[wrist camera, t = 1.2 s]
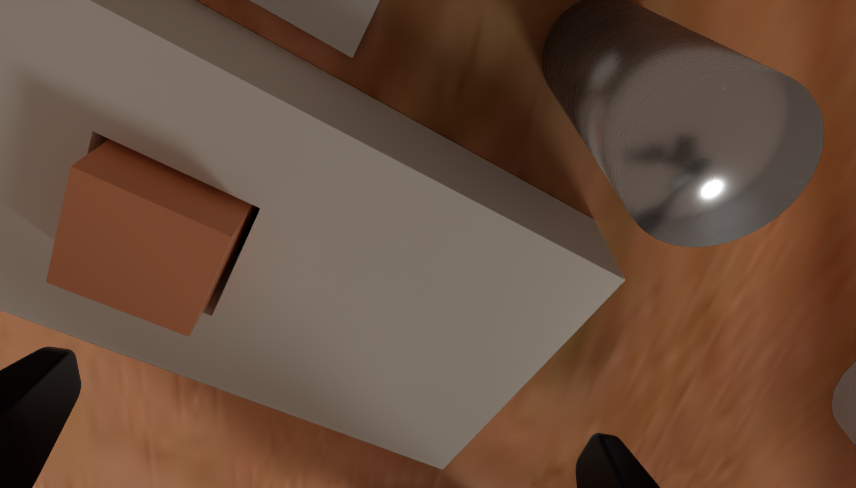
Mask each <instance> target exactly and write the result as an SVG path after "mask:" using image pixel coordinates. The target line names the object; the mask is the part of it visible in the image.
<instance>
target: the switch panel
mask: <svg viewBox="0 0 856 488" xmlns="http://www.w3.org/2000/svg"><path fill="white" fill-rule="evenodd" d="M109 139H111V140H113V141H115V142H117V143H119V144H122V145H124V146H126V147H128V148H130V149H132V150H135V151H137V152H139V153H141V154H143V155H145V156H148V157H150V158H152V159H154V160H156V161H158V162H161V163H163V164H165V165H167V166H169V167H171V168H174V169H176V170H178V171H180V172H182V173H185V174H187V175H189V176H191V177H193V178H195V179H198V180H200V181H202V182H204V183H206V184H208V185H211V186H213V187H215V188H217V189H219V190H221V191H224V192H226V193H228V194H230V195H232V196H234V197H237V198H239V199H241V200H243V201H245V202H247V203H250V204H252V205H254V206H256V207H258V208H260V210H259V213H258V215H257V217H256V219H255V221H254V224H253V226H252V228H251V230H250V233H249V235H248V237H247V239H246V241H245V244H244V246H243V248H242V250H241V251H239V250H237V251H236V253H235V255H234V258H233V260H232V262H231V264H230V267H229V268H228V270H227V272H226V273H225V275H224V277H223V279H222V280H221V282H220V284H219V286H218V287H217V289H216V291H215V293H214V294H213V296H212V298H211V300H210V301H209V303H208V305H207V307H206V308H205V310H204V312H203V313H202V315H201V317H200V319H199V320H198V322H197V324H196V326H195V327H194V329H193V331H192V333H191V334H190V336H189V337H188V336H185V335H183V334H180V333H178V332H175V331H172V330H170V329H167V328H164V327H162V326H159V325H157V324H154V323H151V322H149V321H146V320H143V319H141V318H138V317H136V316H133V315H130V314H128V313H125V312H122V311H120V310H117V309H115V308H112V307H109V306H107V305H104V304H101V303H99V302H96V301H94V300H91V299H88V298H86V297H83V296H80V295H78V294H75V293H73V292H70V291H67V290H65V289H62V288H59V287H57V286H54V285H52V284H49V283H46V279H47V275H48V270H49V265H50V261H51V256H52V251H53V247H54V242H55V237H56V233H57V228H58V223H59V219H60V214H61V209H62V205H63V200H64V195H65V191H66V186H67V181H68V177H69V172H70V167H71V166H72V165H73V164H75V163H76V162H77V161H79V160H80V159H82V158H83V157H85V156H86V155H87V154H89V153H90V152H92V151H93V150H94V149H96V148H97V147H99V146H100V145H102V144H103V143H104V142H106V141H107V140H109ZM624 281H625V278H624V276H623V274H622V272H621V270H620V268H619V266H618V264H617V263H616V261H615V259H614V257H613V255H612V253H611V251H610V249H609V247H608V245H607V243H606V241H605V239H604V237H603V235H602V233H601V231H600V229H599V227H598V225H597V223H596V221H595V220H594V219H592V218H590V217H589V216H587V215H585V214H583V213H581V212H579V211H578V210H576V209H574V208H572V207H570V206H569V205H567V204H565V203H563V202H561V201H559V200H558V199H556V198H554V197H552V196H550V195H549V194H547V193H545V192H543V191H541V190H539V189H538V188H536V187H534V186H532V185H530V184H529V183H527V182H525V181H523V180H521V179H519V178H518V177H516V176H514V175H512V174H510V173H509V172H507V171H505V170H503V169H501V168H499V167H498V166H496V165H494V164H492V163H490V162H488V161H487V160H485V159H483V158H481V157H479V156H478V155H476V154H474V153H472V152H470V151H468V150H467V149H465V148H463V147H461V146H459V145H458V144H456V143H454V142H452V141H450V140H448V139H447V138H445V137H443V136H441V135H439V134H438V133H436V132H434V131H432V130H430V129H428V128H427V127H425V126H423V125H421V124H419V123H418V122H416V121H414V120H412V119H410V118H408V117H407V116H405V115H403V114H401V113H399V112H398V111H396V110H394V109H392V108H390V107H388V106H387V105H385V104H383V103H381V102H379V101H378V100H376V99H374V98H372V97H370V96H368V95H367V94H365V93H363V92H361V91H359V90H357V89H356V88H354V87H352V86H350V85H348V84H347V83H345V82H343V81H341V80H339V79H337V78H336V77H334V76H332V75H330V74H328V73H327V72H325V71H323V70H321V69H319V68H317V67H316V66H314V65H312V64H310V63H308V62H307V61H305V60H303V59H301V58H299V57H297V56H296V55H294V54H292V53H290V52H288V51H287V50H285V49H283V48H281V47H279V46H277V45H276V44H274V43H272V42H270V41H268V40H267V39H265V38H263V37H261V36H259V35H257V34H256V33H254V32H252V31H250V30H248V29H247V28H245V27H243V26H241V25H239V24H237V23H236V22H234V21H232V20H230V19H228V18H226V17H225V16H223V15H221V14H219V13H217V12H216V11H214V10H212V9H210V8H208V7H206V6H205V5H203V4H201V3H199V2H197V1H196V0H0V310H1V311H4V312H6V313H9V314H12V315H15V316H17V317H20V318H23V319H26V320H28V321H31V322H34V323H37V324H40V325H42V326H45V327H48V328H51V329H53V330H56V331H59V332H62V333H65V334H67V335H70V336H73V337H76V338H78V339H81V340H84V341H87V342H90V343H92V344H95V345H98V346H101V347H103V348H106V349H109V350H112V351H115V352H117V353H120V354H123V355H126V356H128V357H131V358H134V359H137V360H139V361H142V362H145V363H148V364H151V365H153V366H156V367H159V368H162V369H164V370H167V371H170V372H173V373H176V374H178V375H181V376H184V377H187V378H189V379H192V380H195V381H198V382H201V383H203V384H206V385H209V386H212V387H214V388H217V389H220V390H223V391H225V392H228V393H231V394H234V395H237V396H239V397H242V398H245V399H248V400H250V401H253V402H256V403H259V404H262V405H264V406H267V407H270V408H273V409H275V410H278V411H281V412H284V413H287V414H289V415H292V416H295V417H298V418H300V419H303V420H306V421H309V422H311V423H314V424H317V425H320V426H323V427H325V428H328V429H331V430H334V431H336V432H339V433H342V434H345V435H348V436H350V437H353V438H356V439H359V440H361V441H364V442H367V443H370V444H373V445H375V446H378V447H381V448H384V449H386V450H389V451H392V452H395V453H398V454H400V455H403V456H406V457H409V458H411V459H414V460H417V461H420V462H422V463H425V464H428V465H431V466H434V467H436V468H439V469H442V470H443V469H444V468H445V467H446V466H447V465H448V464H449V463H450V462H451V461H452V460H453V459H454V457H455V456H456V455H457V454H458V453H459V452H460V451H461V450H462V449H463V448H464V447H465V446H466V445H467V444H468V443H469V442H470V441H471V440H472V439H473V438H474V437H475V436H476V435H477V434H478V433H479V432H480V430H481V429H482V428H483V427H484V426H485V425H486V424H487V423H488V422H489V421H490V420H491V419H492V418H493V417H494V416H495V415H496V414H497V413H498V412H499V411H500V410H501V409H502V408H503V407H504V406H505V405H506V403H507V402H508V401H509V400H510V399H511V398H512V397H513V396H514V395H515V394H516V393H517V392H518V391H519V390H520V389H521V388H522V387H523V386H524V385H525V384H526V383H527V382H528V381H529V380H530V379H531V378H532V376H533V375H534V374H535V373H536V372H537V371H538V370H539V369H540V368H541V367H542V366H543V365H544V364H545V363H546V362H547V361H548V360H549V359H550V358H551V357H552V356H553V355H554V354H555V353H556V352H557V351H558V350H559V348H560V347H561V346H562V345H563V344H564V343H565V342H566V341H567V340H568V339H569V338H570V337H571V336H572V335H573V334H574V333H575V332H576V331H577V330H578V329H579V328H580V327H581V326H582V325H583V324H584V323H585V321H586V320H587V319H588V318H589V317H590V316H591V315H592V314H593V313H594V312H595V311H596V310H597V309H598V308H599V307H600V306H601V305H602V304H603V303H604V302H605V301H606V300H607V299H608V298H609V297H610V296H611V294H612V293H613V292H614V291H615V290H616V289H617V288H618V287H619V286H620V285H621V284H622V283H623V282H624Z"/></svg>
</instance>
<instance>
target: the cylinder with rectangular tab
mask: <svg viewBox="0 0 856 488" xmlns="http://www.w3.org/2000/svg"><path fill="white" fill-rule="evenodd" d="M831 408H832V411H833V415H834V419H835V420H836V422H837V423H838V424H839V425H840V427H841V428H842V429H843V431H844V432H845V433H846V434H847V436H848V437H849V438H850V440H851V441H852V442H853V443H854V445H855V446H856V361H855V362H854V363H853V364H852V365H851V367H850V368H849V369H848V370H847V371H846V372H845V373H844V374H843V376H842V377H841V379H840V381H839V383H838V384H837V386H836V388H835V389H834V393H833V398H832V403H831Z"/></svg>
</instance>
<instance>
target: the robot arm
mask: <svg viewBox="0 0 856 488" xmlns="http://www.w3.org/2000/svg"><path fill="white" fill-rule="evenodd" d="M80 390H81V380H80V375H79V370H78V365H77V360H76V356H75V354H74V352H73V351H72V350H69V349H62V348H56V347H44V348H41V349H39V350H37V351H35V352H33V353H31V354H29V355H28V356H26V357H24V358H22V359H20V360H18V361H17V362H15V363H13V364H11V365H9V366H7V367H6V368H4V369H2V370H0V488H32V487H33V485H34V484H35V482H36V480H37V478H38V476H39V474H40V472H41V470H42V468H43V466H44V464H45V463H46V461H47V459H48V457H49V455H50V453H51V451H52V449H53V447H54V445H55V443H56V441H57V439H58V437H59V435H60V433H61V431H62V429H63V427H64V425H65V423H66V421H67V419H68V417H69V415H70V413H71V411H72V409H73V407H74V405H75V403H76V401H77V399H78V397H79V394H80ZM576 482H577V488H660V487H659V486H658V484H657V483H656V482H655V481H654V480H653V478H652V477H651V476H650V475H649V473H648V472H647V471H646V470H645V469H644V467H643V466H642V465H641V464H640V463H639V461H638V460H637V459H636V458H635V457H634V455H633V454H632V453H631V452H630V450H629V449H628V448H627V447H626V446H625V444H624V443H623V442H622V441H621V440H620V439H619V438H618V437H616V436H614V435H608V434H602V433H596V434H594V435H592V437H591V438H590V440H589V441H588V443H587V445H586V446H585V448H584V449H583V451H582V453H581V454H580V456H579V458H578V460H577V463H576Z"/></svg>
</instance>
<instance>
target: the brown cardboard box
mask: <svg viewBox="0 0 856 488" xmlns="http://www.w3.org/2000/svg"><path fill="white" fill-rule="evenodd" d="M255 208H256V206H254V205H252V204H250V203H247V202H245V201H243V200H241V199H239V198H237V197H234V196H232V195H230V194H228V193H226V192H224V191H221V190H219V189H217V188H215V187H213V186H211V185H208V184H206V183H204V182H202V181H200V180H198V179H195V178H193V177H191V176H189V175H187V174H185V173H182V172H180V171H178V170H176V169H174V168H171V167H169V166H167V165H165V164H163V163H161V162H158V161H156V160H154V159H152V158H150V157H148V156H145V155H143V154H141V153H139V152H137V151H135V150H132V149H130V148H128V147H126V146H124V145H122V144H119V143H117V142H115V141H113V140H111V139H109V140H107V141H106V142H104V143H103V144H102V145H100V146H99V147H97V148H96V149H94V150H93V151H92V152H90V153H89V154H87V155H86V156H85V157H83V158H82V159H80V160H79V161H77V162H76V163H75V164H73V165H72V166H71V167H70V172H69V177H68V181H67V186H66V191H65V195H64V200H63V205H62V209H61V214H60V219H59V223H58V228H57V233H56V237H55V242H54V247H53V251H52V256H51V261H50V265H49V270H48V275H47V279H46V283H49V284H52V285H54V286H57V287H59V288H62V289H65V290H67V291H70V292H73V293H75V294H78V295H80V296H83V297H86V298H88V299H91V300H94V301H96V302H99V303H101V304H104V305H107V306H109V307H112V308H115V309H117V310H120V311H122V312H125V313H128V314H130V315H133V316H136V317H138V318H141V319H143V320H146V321H149V322H151V323H154V324H157V325H159V326H162V327H164V328H167V329H170V330H172V331H175V332H178V333H180V334H183V335H185V336H188V337H189V336H190V334H191V333H192V331H193V329H194V327H195V326H196V324H197V322H198V320H199V319H200V317H201V315H202V313H203V312H204V310H205V308H206V307H207V305H208V303H209V301H210V300H211V298H212V296H213V294H214V293H215V291H216V289H217V287H218V286H219V284H220V282H221V280H222V279H223V277H224V275H225V273H226V272H227V270H228V268H229V267H230V264H231V262H232V260H233V258H234V255H235V253H236V251H237V249H238V246H239V244H240V242H241V240H242V237H243V235H244V233H245V231H246V228H247V226H248V224H249V222H250V219H251V217H252V215H253V212H254V210H255Z"/></svg>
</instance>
